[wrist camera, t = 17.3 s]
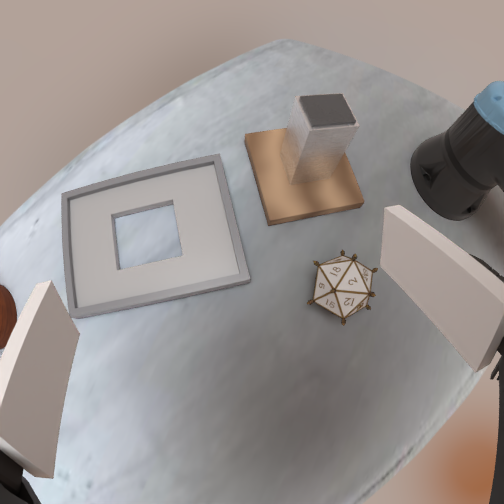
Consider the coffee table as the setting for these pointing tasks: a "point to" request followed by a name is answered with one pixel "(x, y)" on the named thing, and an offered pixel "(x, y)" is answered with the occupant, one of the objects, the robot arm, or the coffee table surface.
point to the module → (317, 136)
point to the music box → (6, 316)
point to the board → (297, 195)
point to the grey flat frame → (160, 272)
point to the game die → (343, 286)
